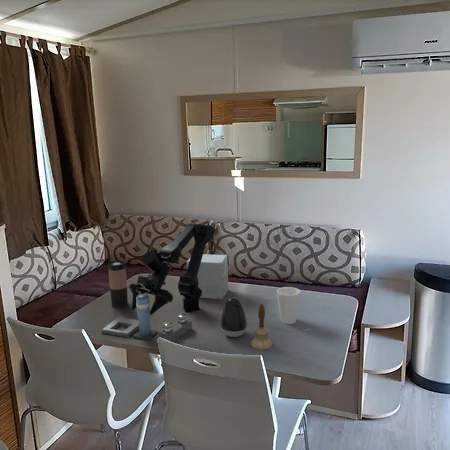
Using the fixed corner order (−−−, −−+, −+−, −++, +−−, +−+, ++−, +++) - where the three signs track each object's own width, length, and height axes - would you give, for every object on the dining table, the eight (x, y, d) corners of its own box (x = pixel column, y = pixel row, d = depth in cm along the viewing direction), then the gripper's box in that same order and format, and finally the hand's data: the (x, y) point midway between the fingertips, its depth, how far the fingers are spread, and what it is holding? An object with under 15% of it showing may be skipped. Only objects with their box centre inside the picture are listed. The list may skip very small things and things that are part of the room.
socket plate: (143, 324, 187) (143, 320, 186) (127, 337, 176) (127, 333, 175) (119, 320, 191) (118, 317, 190) (101, 332, 180) (101, 329, 180)
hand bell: (277, 345, 167) (277, 304, 164) (259, 352, 162) (259, 310, 159) (262, 336, 174) (262, 297, 170) (245, 343, 169) (245, 303, 165)
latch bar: (181, 325, 185) (180, 318, 184) (191, 328, 182) (191, 321, 181) (158, 339, 173) (158, 331, 172) (169, 342, 170) (169, 335, 170)
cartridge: (147, 328, 180) (145, 292, 177) (154, 333, 177) (151, 296, 173) (136, 332, 177) (133, 295, 174) (142, 337, 174) (139, 299, 170)
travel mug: (124, 308, 203) (120, 265, 199) (108, 307, 205) (104, 265, 200) (130, 301, 211) (127, 260, 206) (115, 300, 212) (112, 260, 208)
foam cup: (286, 314, 194) (286, 285, 191) (304, 320, 187) (304, 290, 184) (272, 321, 187) (272, 291, 184) (290, 327, 181) (290, 297, 178)
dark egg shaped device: (228, 342, 170) (228, 305, 166) (216, 332, 178) (215, 295, 175) (252, 336, 174) (251, 299, 171) (239, 326, 183) (238, 290, 180)
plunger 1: (171, 332, 176) (171, 321, 175) (173, 336, 172) (173, 325, 171) (162, 333, 175) (162, 323, 174) (164, 337, 171) (163, 327, 170)
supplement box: (229, 289, 223) (228, 254, 219) (222, 300, 211) (221, 262, 207) (195, 287, 227) (194, 253, 223) (187, 297, 214) (185, 261, 210)
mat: (157, 332, 179) (157, 330, 179) (148, 340, 173) (148, 338, 172) (142, 330, 181) (142, 328, 181) (132, 337, 175) (132, 335, 175)
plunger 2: (186, 323, 183) (185, 313, 182) (188, 326, 180) (187, 316, 179) (177, 324, 182) (176, 314, 181) (179, 328, 179) (178, 318, 178)
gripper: (130, 263, 179) (111, 298, 173) (166, 270, 169) (148, 308, 163) (145, 276, 187) (128, 310, 181) (180, 283, 178) (163, 320, 171)
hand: (141, 312), depth 174 cm, fingers open, 9 cm apart
